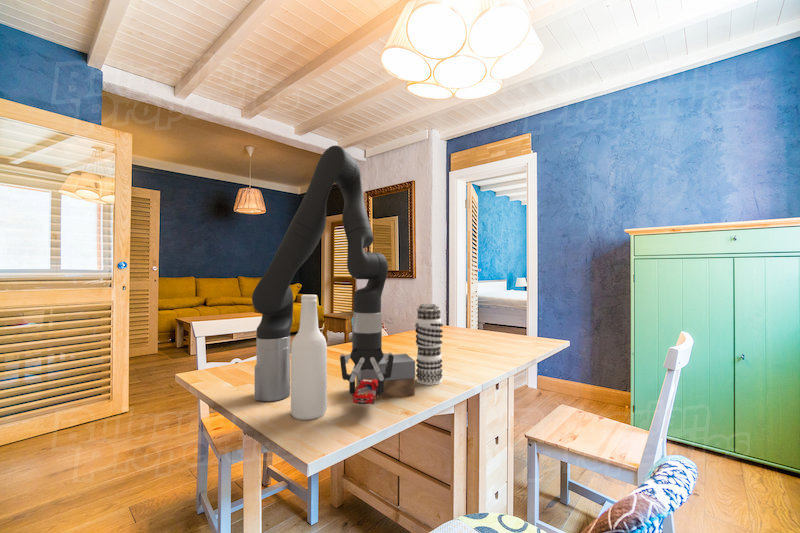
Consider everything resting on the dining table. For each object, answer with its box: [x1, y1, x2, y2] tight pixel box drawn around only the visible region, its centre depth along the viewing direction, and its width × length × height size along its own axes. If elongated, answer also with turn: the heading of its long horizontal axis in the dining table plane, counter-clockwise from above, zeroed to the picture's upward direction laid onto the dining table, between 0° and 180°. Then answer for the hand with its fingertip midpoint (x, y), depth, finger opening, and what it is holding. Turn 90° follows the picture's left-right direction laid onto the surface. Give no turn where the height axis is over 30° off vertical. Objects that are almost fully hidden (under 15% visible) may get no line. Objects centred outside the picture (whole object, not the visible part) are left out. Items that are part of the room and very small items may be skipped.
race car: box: [352, 379, 378, 405], centre depth 90 cm, size 13×5×4 cm, turn 173°
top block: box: [357, 353, 416, 382], centre depth 106 cm, size 16×10×5 cm, turn 104°
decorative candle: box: [414, 303, 444, 386], centre depth 116 cm, size 9×9×25 cm
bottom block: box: [355, 376, 416, 400], centre depth 105 cm, size 16×10×5 cm, turn 102°
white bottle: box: [290, 294, 328, 421], centre depth 89 cm, size 9×9×30 cm
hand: (366, 394), depth 90 cm, fingers closed on race car, 6 cm apart
